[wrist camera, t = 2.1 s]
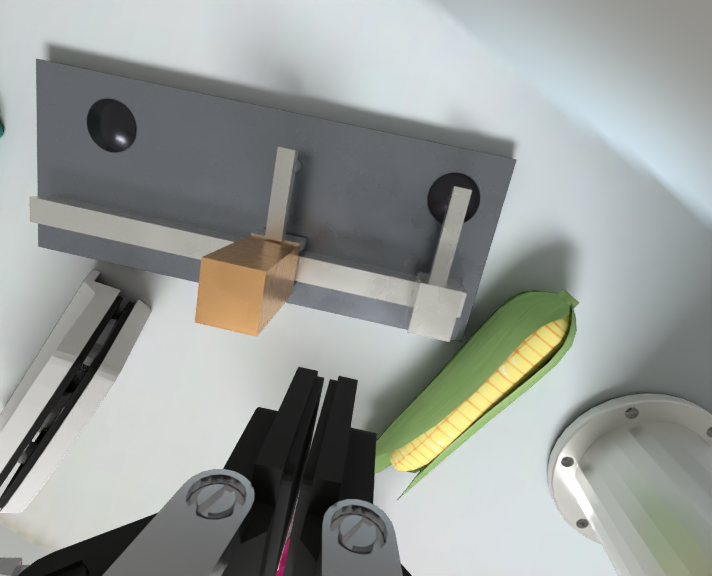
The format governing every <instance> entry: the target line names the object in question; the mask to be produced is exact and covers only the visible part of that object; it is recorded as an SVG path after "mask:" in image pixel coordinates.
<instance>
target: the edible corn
mask: <svg viewBox="0 0 712 576" xmlns="http://www.w3.org/2000/svg"><path fill="white" fill-rule="evenodd" d="M578 304H579V302H578V301H577V300H576V299H575V298H573V297H572V296H571V295H570V294H569V293H567V292H566V291H565V290H562V291H561V292H560V293H551V292H542V291H527V292H522V293H520V294H518V295H516V296H514V297H512V298H510V299H509V300H507V301H506V302H505V303H504V304H503V305H502V306H501V307H500V308H499V309H497V310H496V311H495V312H494V313H493V314H492V315H491V316H490V317H489V318H488V319H487V320H486V322H485V323H484V324H483V325H482V326H481V327H480V328H479V329H478V330H477V331H476V332H475V333H474V334H473V335H472V336H471V337H470V339H469V340H468V341H467V342H466V343H465V344H464V345H463V346H462V347H461V348H460V350H459V351H458V352H457V353H456V354H455V355H454V356H453V357H452V358H451V360H450V361H449V362H448V363H447V364H446V365H445V366H444V367H443V368H442V370H441V371H440V372H439V373H438V374H437V375H436V377H435V378H434V379H433V380H432V381H431V382H430V384H429V385H428V386H427V387H426V388H425V389H424V391H423V392H422V393H421V394H420V395H419V396H418V397H417V398H416V399H415V400H414V401H413V402H412V403H411V405H410V406H409V407H408V408H407V409H406V410H405V411H404V412H403V413H402V414H401V415H400V416H399V417H398V418H397V419H396V420H395V421H394V422H393V423H392V424H391V425H390V426H389V428H388V429H387V430H386V431H385V432H384V433H383V435H382V436H381V437H380V438H379V439H378V440H377V441H376V456H375V473H378V472H380V471H382V470H384V469H385V468H387V467H388V466H390V465H393V466H394V468H396V469H397V470H398V471H406V472H413V473H416V472H418V471H420V472H419V473H418V474H417V476H416V477H415V478H414V480H413V481H412V482H411V484H410V485H409V486H408V488H407V489H406V490H405V491H404V492H403V494H402V495H401V496H403V495H404V494H405V493H406V492H407V491H408V490H409V489H411V488H412V487H413V486H414V485H415V484H416V483H417V482H419V481H420V480H421V479H422V478H423V477H424V476H426V475H427V474H428V473H429V472H430V471H431V470H432V469H434V468H435V467H436V466H437V465H438V464H439V463H440V462H442V461H443V460H444V459H445V458H446V457H447V456H449V455H450V454H451V453H452V452H453V451H454V450H456V449H457V448H458V447H459V446H460V445H462V444H463V443H464V442H465V441H466V440H467V439H469V438H470V437H471V436H472V435H473V434H475V433H476V432H477V431H478V430H479V429H480V428H482V427H483V426H484V425H485V424H486V423H488V422H489V421H490V420H491V419H492V418H494V417H495V416H496V415H497V414H498V413H500V412H501V411H502V410H503V409H505V408H506V407H507V406H508V405H510V404H511V403H512V402H513V401H515V400H516V399H517V398H518V397H519V396H521V395H522V394H523V393H524V392H526V391H527V390H528V389H529V388H531V387H532V386H533V385H534V384H535V383H536V382H537V381H539V380H540V379H541V378H542V377H543V376H544V375H545V374H547V373H548V372H549V371H550V370H551V369H552V368H553V367H555V366H556V365H557V364H558V363H559V361H560V360H561V359H562V357H563V356H564V355H565V354H566V352H567V351H568V350H569V348H570V347H571V346H572V343H573V340H574V337H575V334H576V331H577V330H576V316H575V313H574V309H573V308H575V307H576V306H577V305H578ZM401 496H400V497H401ZM400 497H399V498H400ZM399 498H398V499H399ZM398 499H397V500H398Z"/></svg>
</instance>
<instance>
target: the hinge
mask: <svg viewBox="0 0 712 576" xmlns="http://www.w3.org/2000/svg"><path fill="white" fill-rule="evenodd" d="M99 274H100V272H99V271H97V270H95V269H93V270H92V272H91V273H90V274H89V275H88V276H87V278H86V279H85V280H84V282H83V283H82V285H81V286H80V288H79V290H78V291H77V293H76V294H75V296H74V298H73V299H72V301H71V302H70V304H69V306H68V307H67V309H66V310H65V312H64V314H63V315H62V317H61V318H60V320H59V322H58V323H57V325H56V326H55V328H54V330H53V331H52V333H51V334H50V336H49V337H48V339H47V341H46V342H45V344H44V345H43V347H42V349H41V350H40V352H39V353H38V355H37V357H36V358H35V360H34V361H33V363H32V365H31V366H30V368H29V369H28V371H27V373H26V374H25V376H24V377H23V379H22V381H21V382H20V384H19V385H18V387H17V388H16V390H15V392H14V393H13V395H12V396H11V398H10V400H9V401H8V403H7V404H6V406H5V408H4V409H3V411H2V412H1V414H0V487H1V485H2V484H3V482H4V481H5V479H6V478H7V476H8V475H9V473H10V472H11V470H12V469H13V467H14V466H15V464H16V463H17V462H18V463H21V465H20V466H19V468H18V469H17V471H16V473H15V474H14V476H13V478H12V479H11V481H10V483H9V484H8V486H7V488H6V489H5V491H4V492H3V494H2V496H1V497H0V508H1V510H0V513H21V512H22V511H23V510H24V509H25V508H26V507H27V506H28V505H29V504H30V502H31V501H32V500H33V499H34V497H35V496H36V495H37V493H38V492H39V491H40V490H41V488H42V487H43V486H44V484H45V483H46V482H47V480H48V479H49V477H50V476H51V475H52V473H53V472H54V471H55V469H56V468H57V466H58V465H59V464H60V462H61V461H62V459H63V458H64V457H65V455H66V454H67V452H68V451H69V449H70V448H71V447H72V445H73V444H74V442H75V441H76V439H77V438H78V436H79V435H80V433H81V432H82V430H83V429H84V427H85V426H86V424H87V423H88V422H89V420H90V419H91V417H92V416H93V414H94V413H95V411H96V409H97V408H98V406H99V405H100V403H101V402H102V400H103V399H104V397H105V396H106V394H107V393H108V391H109V390H110V388H111V387H112V385H113V384H114V382H115V380H116V379H117V377H118V375H119V374H120V372H121V370H122V368H123V366H124V364H125V362H126V360H127V358H128V356H129V354H130V352H131V350H132V348H133V346H134V344H135V342H136V341H137V339H138V337H139V335H140V333H141V331H142V329H143V327H144V325H145V323H146V321H147V319H148V317H149V315H150V313H151V311H152V310H151V309H150V308H149V307H148V306H147V305H146V304H144V303H143V302H142V301H140V300H139V299H138V301H137V302H136V303H135V304H134V303H132V302H129V303H128V305H127V306H126V308H125V309H124V311H123V312H122V314H121V315H120V317H119V318H118V319H111V317H112V316H113V314H114V313H115V311H116V309H117V308H118V306H119V305H120V303H121V301H122V300H123V298H122V297H120V296H118V294H119V292H120V291H121V290H119V289H116V288H113V287H110V286H107V285H104V284H101V283H98V282H95V280H96V279H97V277H98V275H99ZM82 364H84V365H87V366H89V368H88V370H87V372H86V373H85V375H84V376H83V378H82V380H81V381H80V383H79V384H78V386H77V387H76V389H75V390H74V392H73V393H70V392H66V391H65V390H66V388H67V387H68V385H69V383H70V382H71V380H72V379H73V377H74V376H75V374H76V373H77V371H78V370H79V368H80V367H81V365H82ZM41 426H42V427H44V428H46V429H47V431H44V430H42V431H41V433H40V434H39V436H38V437H37V439H36V440H35V442H32V439H33V438H34V436H35V435H36V433H37V432H38V430H39V429H40V427H41Z"/></svg>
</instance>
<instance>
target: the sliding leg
mask: <svg viewBox="0 0 712 576" xmlns="http://www.w3.org/2000/svg"><path fill="white" fill-rule="evenodd" d="M297 158H298V151H296V150H291V149H287V148H282V147H278V149H277V156H276V163H275V170H274V177H273V183H272V190H271V197H270V204H269V211H268V218H267V225H266V229H259V230H257V231H255V232H253V233H251V235H249V236H247V237H245V238H243V239H241V240H238V241H236V242H234V243H232V244H229V245H227V246H225V247H223V248H221V249H218V250H216V251H214V252H212V253H210V254H207V255H205V256H203V257H202V258H201V268H200V277H199V287H198V297H197V307H196V317H195V323H200V324H204V325H209V326H213V327H217V328H222V329H226V330H230V331H235V332H239V333H243V334H248V335H252V336H258V334H259V333H260V332H261V331H262V330H263V328H264V327H265V326H266V325H267V324H268V322H269V321H270V320H271V319H272V318H273V316H274V315H275V314H276V313H277V312H278V310H279V309H280V308H281V307H282V306H283V304H284V303H285V302H286V301H287V300H288V298H289V297H290V296H292V295H293V294H294V292H295V291H296V290H297V289H298V286H299V282H298V281H294V280H295V274H296V268H297V262H298V256H299V252H300V251H302V250H303V249H304V248H305V246H306V240H307V238H303V237H298V236H293V235H289V234H286V228H287V221H288V215H289V209H290V202H291V196H292V190H293V183H294V177H295V172H298V171H299V170H300V169H301V163H300V161H299V160H297Z"/></svg>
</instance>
